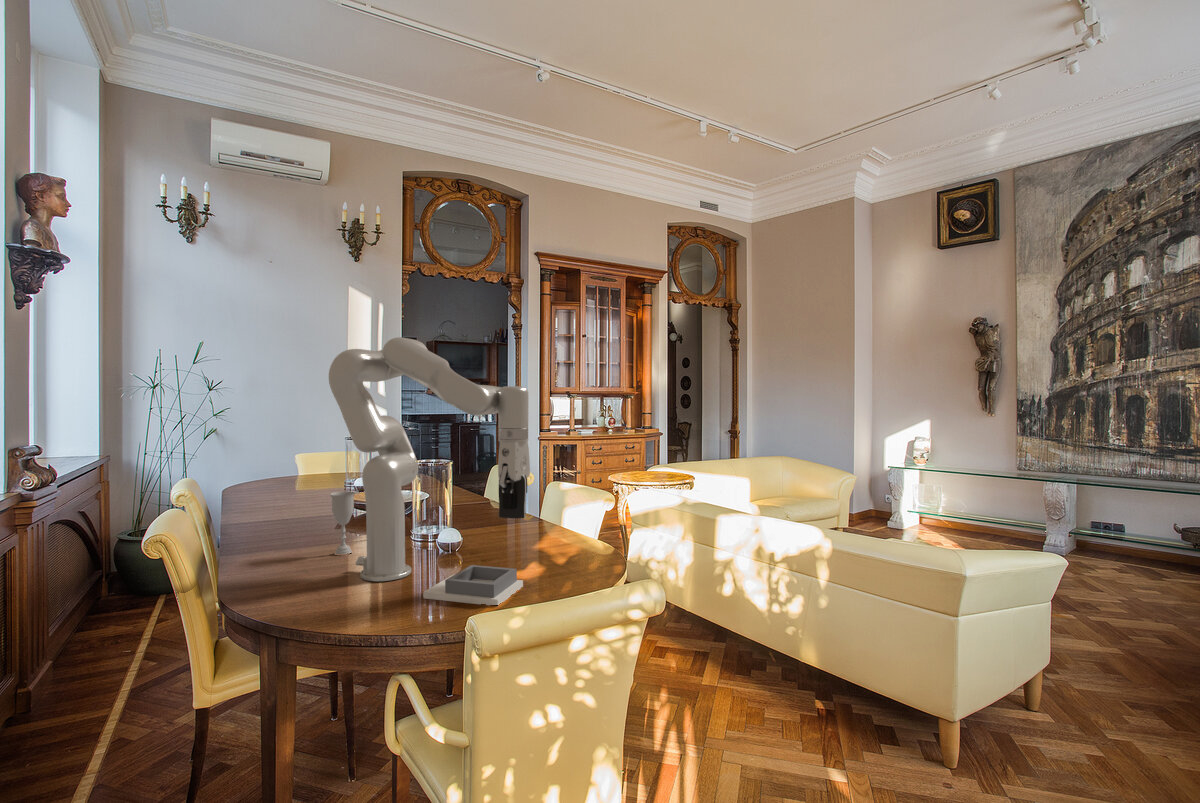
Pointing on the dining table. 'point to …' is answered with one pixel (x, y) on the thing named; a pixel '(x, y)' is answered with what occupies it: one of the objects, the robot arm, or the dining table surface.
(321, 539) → the dining table surface
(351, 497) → the chalice
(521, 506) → the battery charger
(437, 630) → the dining table surface
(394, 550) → the robot arm
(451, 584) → the dock
